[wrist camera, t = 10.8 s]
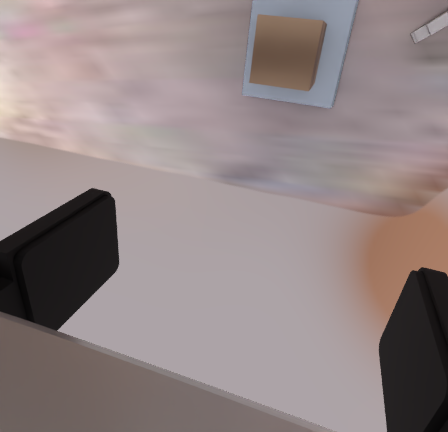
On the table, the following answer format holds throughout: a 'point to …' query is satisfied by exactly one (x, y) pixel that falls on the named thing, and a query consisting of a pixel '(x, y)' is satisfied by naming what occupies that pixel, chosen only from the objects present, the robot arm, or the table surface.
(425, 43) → the table surface
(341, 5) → the base block
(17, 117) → the table surface
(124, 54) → the table surface
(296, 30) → the walnut block
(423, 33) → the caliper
